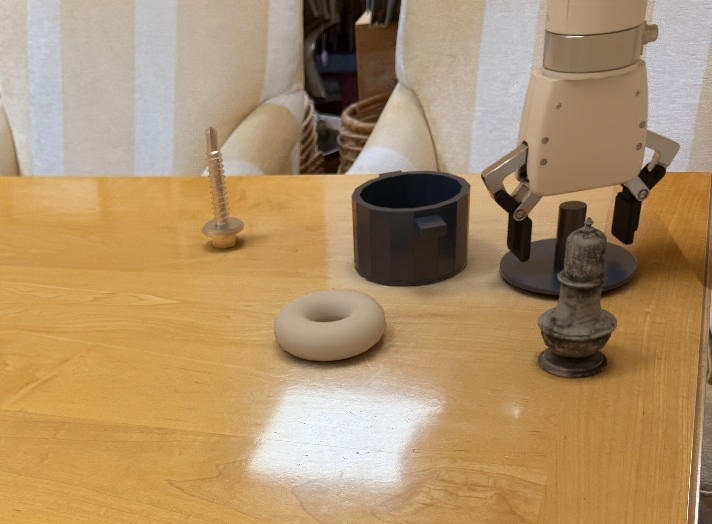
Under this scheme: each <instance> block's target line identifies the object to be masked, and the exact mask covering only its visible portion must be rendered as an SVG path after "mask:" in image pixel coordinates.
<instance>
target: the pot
mask: <svg viewBox="0 0 712 524" xmlns="http://www.w3.org/2000/svg"><path fill="white" fill-rule="evenodd" d="M471 187H472V185H471V184H470V182H468V181H467V180H466V178H464V177H462V176H459V175H456V174H453V173H450V172H444V171H435V170H410V171H409V170H407V171H402V169H401V170H400V169H399V170H396V171H394V170H393V171H389V172H382V173H378V176H377V177H375V178H371V179H368V180H366V181H365V182H363V183H361V184H360V185H358V186H356V187H355V189H354V191H353V192H352V194H351V212H352V213H351V217H352V218H351V219H352V243H353V244H352V245H353V262H354V266H355V271H356V272H357V274H358V276H360V277H361V278H363V279H365V280H367V281H369V282H372V283H375V284H379V285H385V286H390V287H391V286H393V287H414V286H424V285H430V284H434V283H438V282H442V281H444V280H447V279H449V278H452V277H454V276H455V275H457V274H459V273H461V272H462V271H463V269H464V268H466V265H467V263H468V256H469V242H470V241H469V240H470V239H469V237H470V213H471V210H470V208H471Z"/></svg>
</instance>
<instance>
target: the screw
mask: <svg viewBox="0 0 712 524" xmlns="http://www.w3.org/2000/svg"><path fill="white" fill-rule="evenodd" d="M204 138H205V145H206V151H207V152H206V153H205V155H206V159H205V161H207V164H206V166H207V168H208V169H207V170H206V171H207V172H208V175H207V177H208V178H209V180H208V183H209V184H210V185H209V189H210V190H211V191H210V192H209V193H210V194H211V197H210V199H212V201H211V204H212V207H211V209H213V212H212V214H213V215H214V217H213V219H211V220H209V221H207V222H206V223H205V224H204V225H203V226H202V228H201V234H202V235H203V236H204V237H207V238H210V239H212V245H213V248H214V249H219V250H225V249H229V248H232V247H235V246H236V243H237V235H238V234H240V233H241V232H242V231H244V229H245V222H244V221H243V220H241V219H240V218H238V217H233V216H232V217H231V216H230V212H229V210H230V207H228V205H229V201H228V196H227V194H228V191H226V189H227V185H225V184H226V183H227V181H226V180H225V178H226V175H225V174H224V173H225V169H224V166H225V164H223V162H224V159H223V158H222V156H223V153H222V152H221V151H222V149H220V145H219V137H218V129H216V128H215V127H212V126H209V127H208V128H206V129H205V131H204Z"/></svg>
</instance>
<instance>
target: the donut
mask: <svg viewBox="0 0 712 524" xmlns="http://www.w3.org/2000/svg"><path fill="white" fill-rule="evenodd" d="M386 325H387V321H386V315H385V310H384V308H383V306H382V305H381V304H380V303H379V302H378V301H377V300H376V299H375V298H373V296H370V295H368V294H367V293H364V292H362V291H357V290H351V289H345V288H344V289H343V288H342V289H341V288H329V289H320V290H316V291H312V292H307V293H304V294H302V295H299V296H297V297H295V298H293V299H292V300H290V301H288V302H287V303H285V304H284V305H283V306H282V307H281V309H280V310H279V311H278V312H277V314H276V316H275V317H274V324H273V335H274V338H275V339H276V341H277V342H278V344H279V345H280V347H281V348H282V350H284V351H285V352H287V353H289V354H291V355H293V356H294V357H296V358H299V359H303V360H307V361H315V362H330V361H331V362H332V361H341V360H344V359H349V358H353V357H356V356H358V355H361V354H363V353H365V352H367V351H368V350H369V349H371V348H372V347H373V346H374V345H376V344H377V343H378V342H379V341H380V339H381V338H382V336H383V334H384V332H385V330H386V327H387V326H386Z"/></svg>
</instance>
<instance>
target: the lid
mask: <svg viewBox="0 0 712 524" xmlns="http://www.w3.org/2000/svg"><path fill="white" fill-rule="evenodd" d="M587 213H588V204H587V203H586V202H585V201H581V200H567V201H563V202H561V203H560V204H559V206H558V213H557V224H556V234H555V237H552V238H543V239H538V240H534V241H531V248H530V259H528V261H525V262H521V261H520V260H519V259H518V258H517V257H516V256H515V255H514V254H513V253H512V252H511V251H510V250H508V251H507V252H506V253H505V254H504V255H503V256H502V257H501V258H500V260H499V272H500V276H502V278H503V279H504V280H505V281H506V282H508V283H510V284H511V285H513V286H515V287H517V288H520V289H522V290H526V291H529V292H533V293H538V294H544V295H552V296H553V295H554V296H560V288H561V282H560V281H559V280H558V278H557V277H558V273H559V272H560V271H562V270H563V269H564V260H565V250H566V241H567V238H568V236H569V235H570V234H571V233H572V232H573V231H575V230H577V229H579V228H582V227H585V224H584V222H585V221H586V219H587ZM637 270H638V260H637V258H636V256H635V255H634V254H633V253H632V252H631V251H630V250H628V249H627V248H625V247H622V246H621V245H618V244H616V243H612V242H609V241H607V246H606V254H605V261H604V269H603V271H605V272H606V273H607V275H608V279H607V281H606V282H604V283H603V284H602V292H605V291H610V290H613V289H616V288H619V287H620V286H623V285H625V284H626V283H628V282H629V281H631V279H632V278H634V276H635V275H636V273H637Z"/></svg>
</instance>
